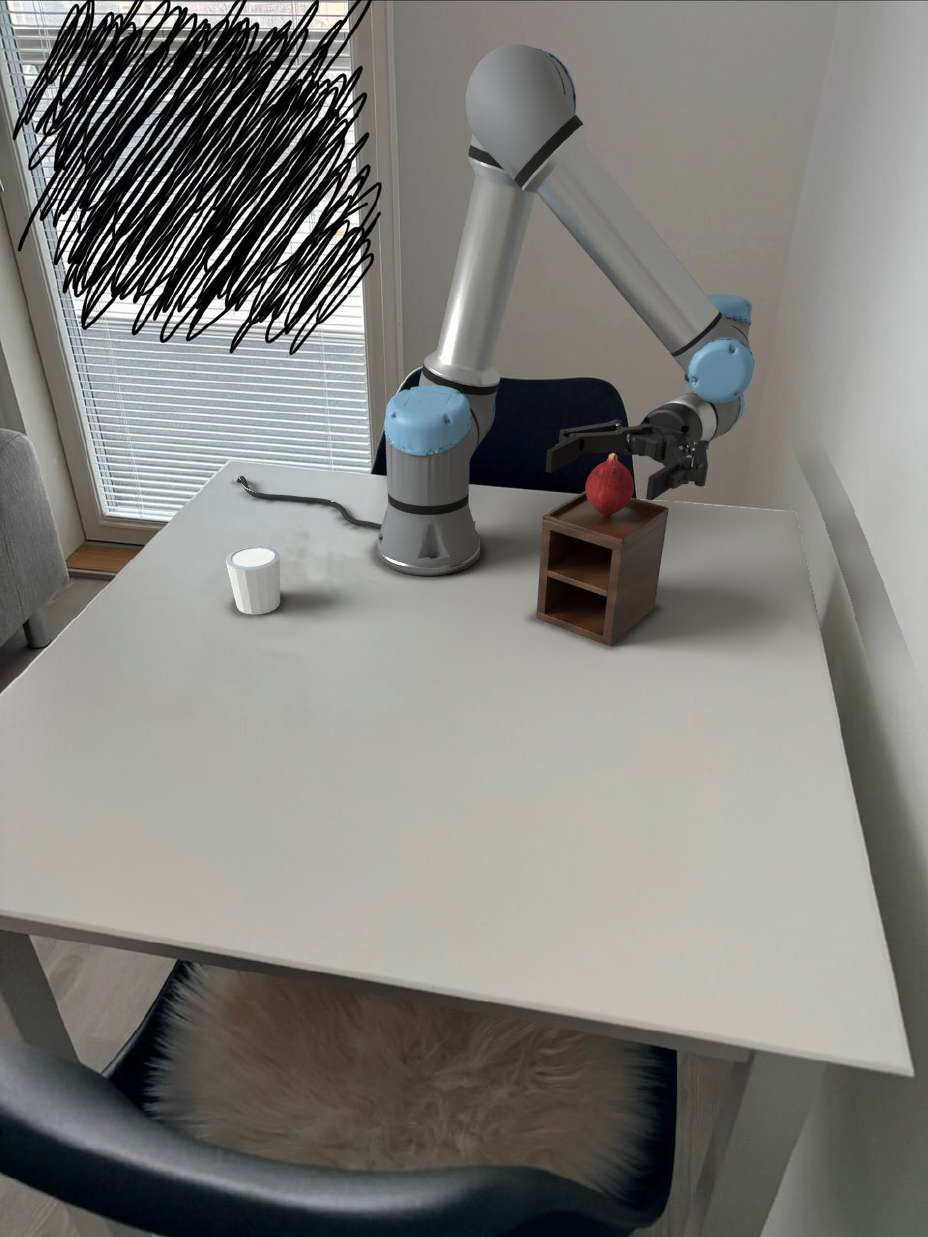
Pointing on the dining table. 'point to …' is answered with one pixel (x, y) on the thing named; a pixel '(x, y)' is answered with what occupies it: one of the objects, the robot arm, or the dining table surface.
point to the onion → (609, 486)
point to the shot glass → (255, 578)
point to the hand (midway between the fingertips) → (597, 474)
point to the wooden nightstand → (600, 567)
